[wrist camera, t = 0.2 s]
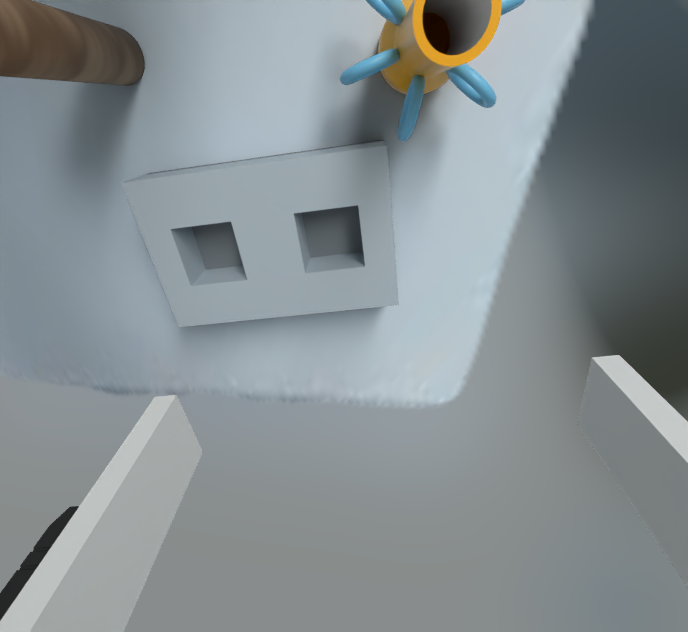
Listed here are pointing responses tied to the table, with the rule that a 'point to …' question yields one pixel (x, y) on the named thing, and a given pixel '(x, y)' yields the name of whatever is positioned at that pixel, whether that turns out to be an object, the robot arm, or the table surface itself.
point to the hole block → (271, 234)
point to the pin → (65, 46)
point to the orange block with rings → (432, 49)
